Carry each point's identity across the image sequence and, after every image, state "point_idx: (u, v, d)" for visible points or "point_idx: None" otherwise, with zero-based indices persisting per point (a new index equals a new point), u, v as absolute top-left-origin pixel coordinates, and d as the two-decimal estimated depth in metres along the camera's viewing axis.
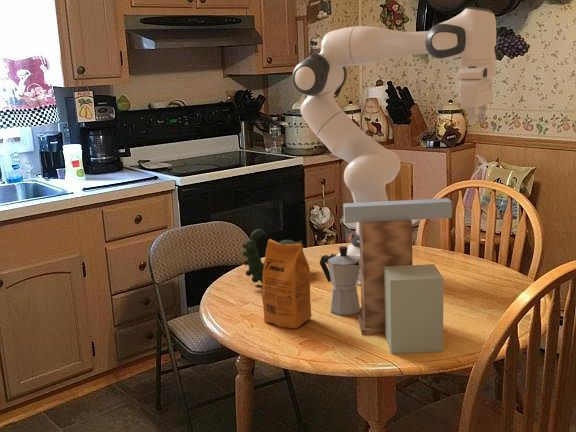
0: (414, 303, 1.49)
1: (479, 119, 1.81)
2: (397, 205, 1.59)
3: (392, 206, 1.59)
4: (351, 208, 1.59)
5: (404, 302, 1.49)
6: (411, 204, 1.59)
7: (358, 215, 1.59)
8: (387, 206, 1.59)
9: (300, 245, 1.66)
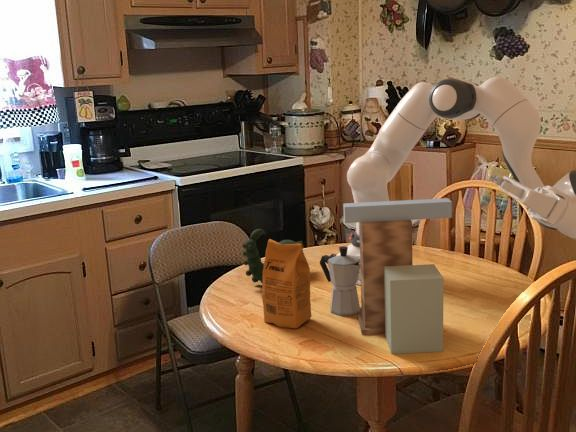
0: (414, 303, 1.49)
1: (493, 176, 1.60)
2: (397, 205, 1.59)
3: (392, 206, 1.59)
4: (351, 208, 1.59)
5: (404, 302, 1.49)
6: (411, 204, 1.59)
7: (358, 215, 1.59)
8: (387, 206, 1.59)
9: (300, 245, 1.66)
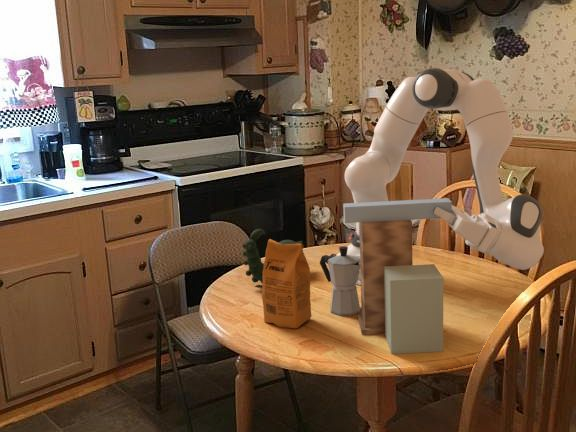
0: (414, 303, 1.49)
1: None
2: (397, 205, 1.59)
3: (392, 206, 1.59)
4: (351, 208, 1.59)
5: (404, 302, 1.49)
6: (411, 204, 1.59)
7: (358, 215, 1.59)
8: (387, 206, 1.59)
9: (300, 245, 1.66)
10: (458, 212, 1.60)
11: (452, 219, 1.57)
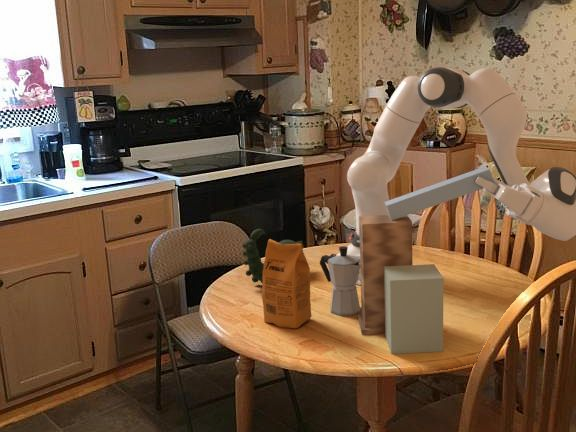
0: (414, 303, 1.49)
1: None
2: (437, 188, 1.58)
3: (433, 191, 1.58)
4: (393, 205, 1.59)
5: (404, 302, 1.49)
6: (451, 183, 1.57)
7: (402, 209, 1.59)
8: (428, 192, 1.58)
9: (300, 245, 1.66)
10: (499, 182, 1.58)
11: (494, 188, 1.55)
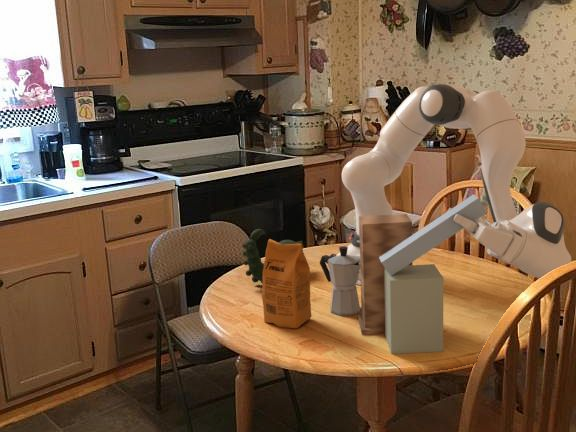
0: (414, 303, 1.49)
1: None
2: (429, 232, 1.48)
3: (425, 235, 1.48)
4: (388, 260, 1.50)
5: (404, 302, 1.49)
6: (441, 223, 1.48)
7: (398, 262, 1.50)
8: (420, 238, 1.48)
9: (300, 245, 1.66)
10: (479, 219, 1.48)
11: (473, 227, 1.45)
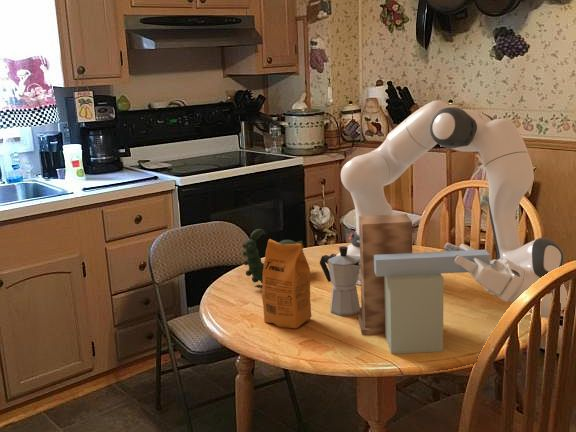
0: (414, 303, 1.49)
1: (448, 246, 1.55)
2: (432, 258, 1.50)
3: (426, 259, 1.50)
4: (383, 261, 1.50)
5: (404, 302, 1.49)
6: (447, 257, 1.50)
7: (390, 268, 1.50)
8: (421, 259, 1.50)
9: (300, 245, 1.66)
10: None
11: None
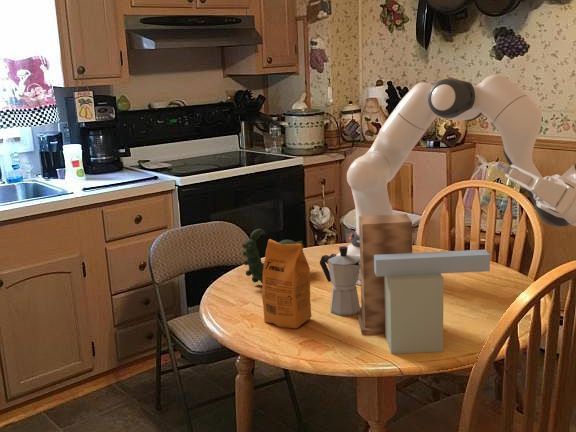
0: (414, 303, 1.49)
1: (500, 164, 1.57)
2: (432, 258, 1.50)
3: (426, 259, 1.50)
4: (383, 261, 1.50)
5: (404, 302, 1.49)
6: (447, 257, 1.50)
7: (390, 268, 1.50)
8: (421, 259, 1.50)
9: (300, 245, 1.66)
10: None
11: None
